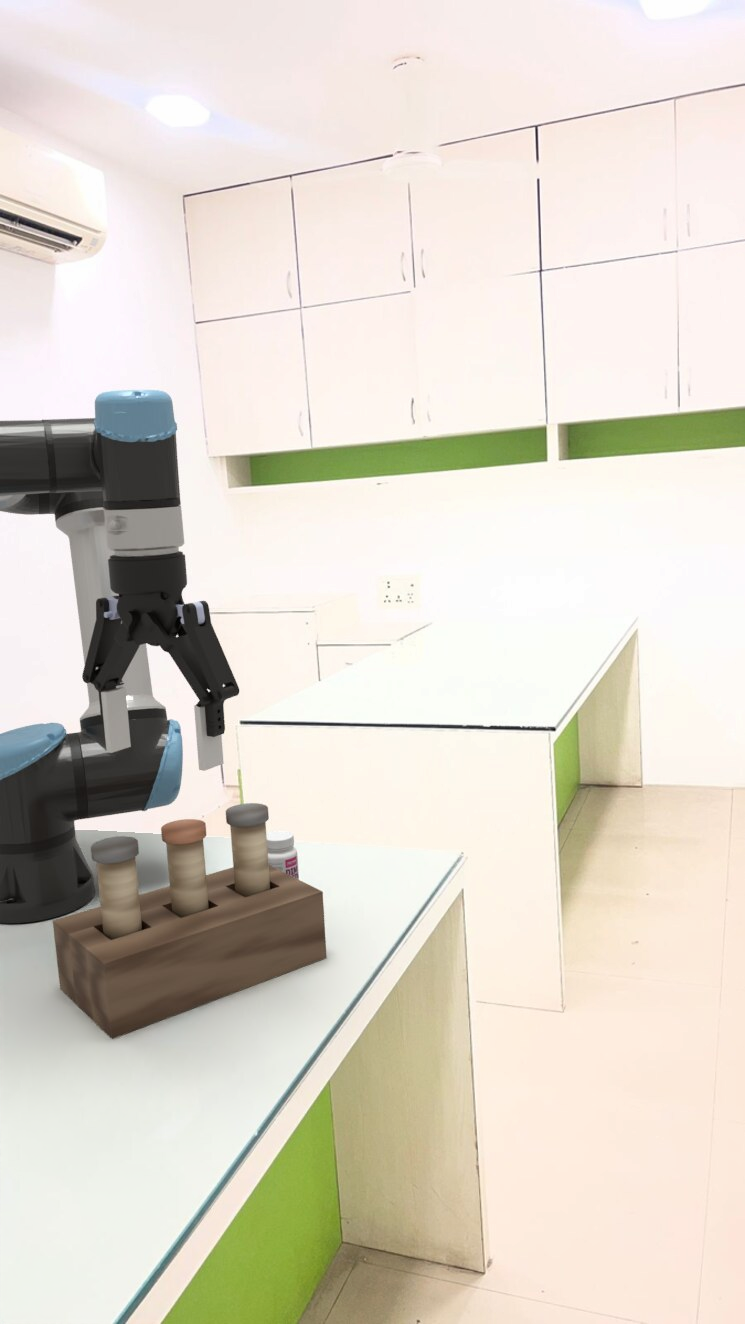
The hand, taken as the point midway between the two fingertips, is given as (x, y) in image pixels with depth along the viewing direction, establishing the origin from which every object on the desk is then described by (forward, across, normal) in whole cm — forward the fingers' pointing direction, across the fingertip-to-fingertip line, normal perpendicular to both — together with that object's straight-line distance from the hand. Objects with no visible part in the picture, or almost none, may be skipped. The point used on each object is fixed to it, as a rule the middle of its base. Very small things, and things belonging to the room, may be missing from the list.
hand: (163, 758), depth 107 cm
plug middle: (+21, -2, +4) cm, 22 cm away
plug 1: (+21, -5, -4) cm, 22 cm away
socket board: (+26, -2, +4) cm, 27 cm away
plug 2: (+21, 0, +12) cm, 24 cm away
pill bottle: (+27, -8, +26) cm, 38 cm away
